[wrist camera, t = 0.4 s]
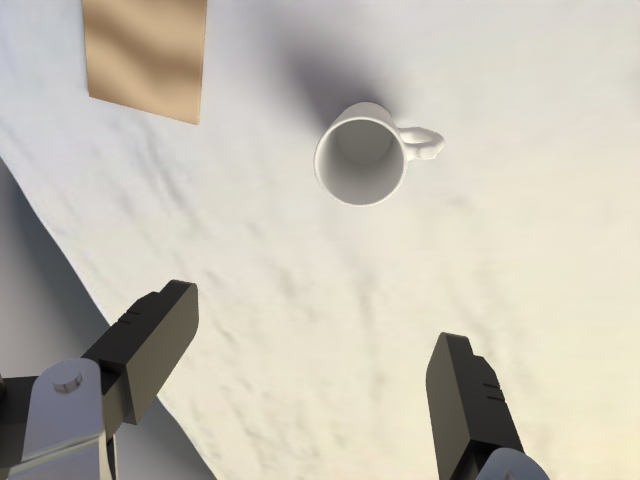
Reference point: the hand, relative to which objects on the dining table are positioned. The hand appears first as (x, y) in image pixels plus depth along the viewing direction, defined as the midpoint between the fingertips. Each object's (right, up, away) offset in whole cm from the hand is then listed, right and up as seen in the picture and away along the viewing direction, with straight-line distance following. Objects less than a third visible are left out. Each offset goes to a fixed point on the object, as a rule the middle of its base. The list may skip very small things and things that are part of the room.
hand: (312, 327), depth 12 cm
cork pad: (-17, +22, +24) cm, 37 cm away
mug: (+6, +14, +25) cm, 29 cm away
